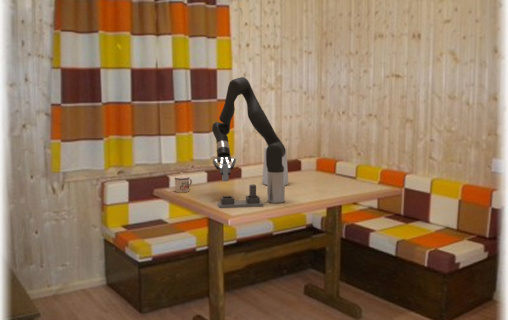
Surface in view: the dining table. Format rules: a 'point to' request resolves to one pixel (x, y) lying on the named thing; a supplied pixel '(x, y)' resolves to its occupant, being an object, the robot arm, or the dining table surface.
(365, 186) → the dining table surface
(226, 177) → the plug
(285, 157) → the plastic bottle
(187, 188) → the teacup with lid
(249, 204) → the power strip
